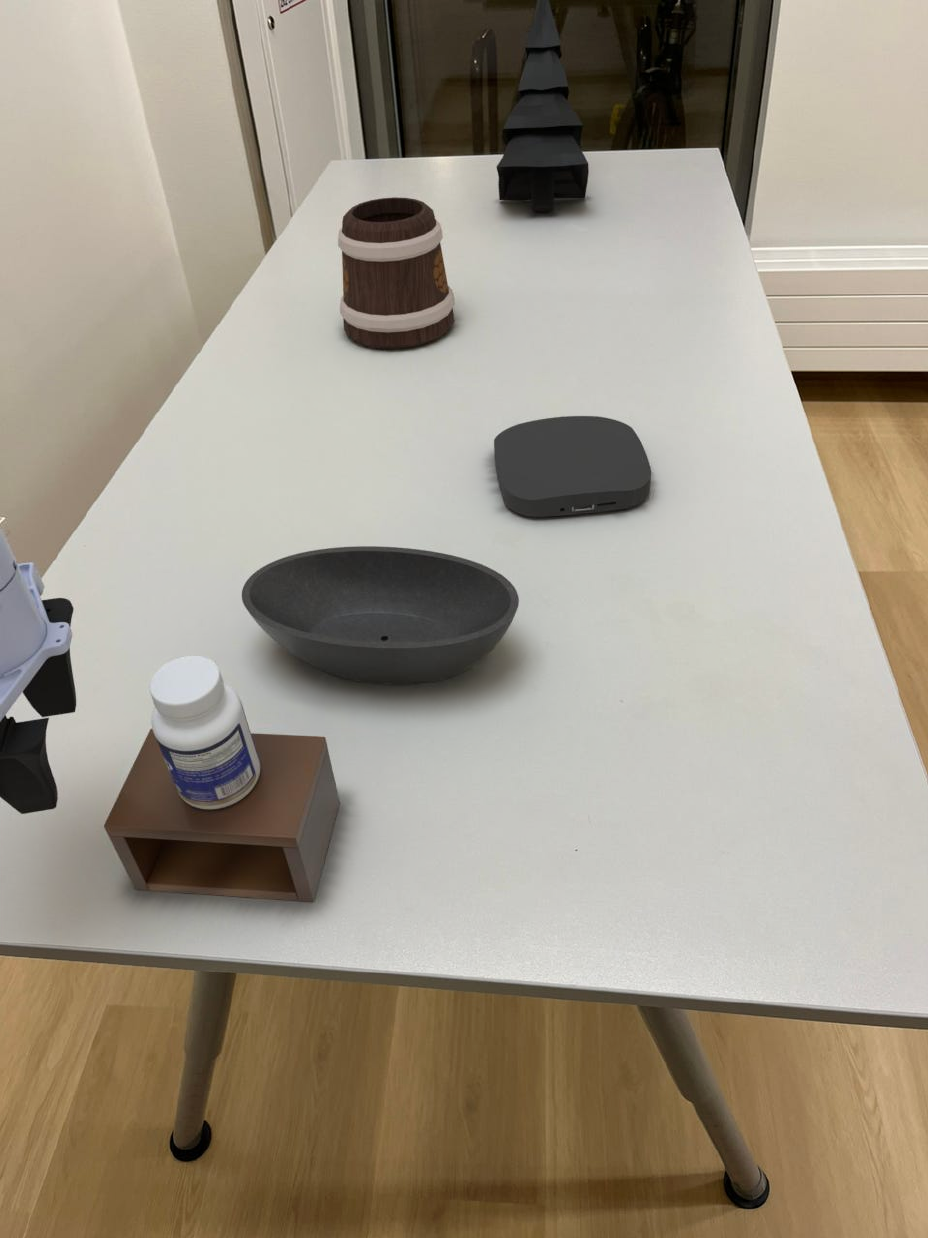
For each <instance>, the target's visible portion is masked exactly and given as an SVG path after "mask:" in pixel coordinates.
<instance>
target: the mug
mask: <svg viewBox="0 0 928 1238" xmlns="http://www.w3.org/2000/svg"><path fill="white" fill-rule="evenodd" d="M341 222H342V224H341V228H340V229H339V230H338V236H337V237H338V238H337V247H338V248H339V249H340V250H341V262H342V264H341V265H342V293H343V295H342V296H341V297H340V303H339V314H340V315H341V317H342V318H343V319H342V320H343V331H344V332H345V333H346V335H347V337H349V338H350V339H351V340H353V341H354V342H357V343H358V344H360V345H362V346H366V347H369V348H372V349H380V350H381V349H382V350H401V349H411V348H414V347H420V346H423V345H426V344H428V343H431V342H434V341H437V340H438V339H439V338H441V337H442V336H443V335H445V334H447V332H448V331H449V330H450V329H451V328H452V326H453V325H454V323H455V316H454V315H455V313H454V306H455V305H456V302H455V295H454V292H453V289H452V288H451V287H450V286H449V284H448V278H447V273H446V267H445V262H444V255H443V250H442V244H441V241H442V240H443V236H444V235H443V230H442V226H441V222H440V221H438V220H437V219H436V215H435V212H434V209H433V208H431V206H429V205H428V204H427V203H425V202H424V201H423V200H422V201H421V200H419V199H416V198H410V197H396V196H395V197H394V196H393V197H382V198H381V197H380V198H376V199H375V198H374V199H370V200H366V201H363V202H360V203H357V204H356V205H354V206H352V207H351V208H350V209H348V211H347V212H346V213H345V214H344V215H343V216H342V221H341Z"/></svg>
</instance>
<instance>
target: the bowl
mask: <svg viewBox="0 0 928 1238" xmlns="http://www.w3.org/2000/svg"><path fill="white" fill-rule="evenodd" d="M519 599H520V597H519V594H518V591H517V589H516V588H515V585H513V584H512V582H511V581H510V580H509V579H508V578H507V577H506V576H504V575H503V574H501V573H499V572H498V571H497V570H494V569H492V568H491V567H488V566H487V565H484V564H482V563H479V562H476V561H475V560H474V561H473V560H471V559H467V558H463V557H460V556H456V555H454V554H453V555H452V554H448V553H442V552H437V551H432V550H425V549H419V548H418V549H417V548H409V547H397V546H396V547H395V546H379V545H377V546H376V545H375V546H374V545H372V546H368V545H366V546H365V545H364V546H363V545H362V546H361V545H360V546H359V545H358V546H339V547H329V548H319V549H313V550H308V551H303V552H298V553H295V554H291V555H288V556H285V557H284V556H283V557H281V558H278V559H276V560H274V561H272V562H269V563H267V564H266V565H264V566H262V567H261V568H259V569H258V570H256V571H255V572H254V573H252V574H251V575H250V576H249V577H248V579H246V581H245V583H244V584H243V586H242V589H241V601H242V603H243V606H244V607H245V609H246V610H247V612H248V614H249V615H250V616H251V617H252V618H253V620H254V621H255V623H257V625H258V626H259V627H260V628H261V629H262V630H263V631H264V632H265V633H266V634H267V635H268V636H269V637H270V638H271V639H272V640H273V641H274V642H276V643H277V644H278V645H279V646H280V647H282V648H283V649H284V650H286V651H287V652H289V653H290V654H291V655H293V656H294V657H296V658H298V659H299V660H301V661H303V662H305V663H306V664H308V665H311V666H312V667H315V668H316V669H319V670H321V671H322V672H325V673H328V674H330V675H332V676H336V677H339V678H343V679H347V680H351V681H356V682H362V683H370V684H378V685H379V684H380V685H418V684H426V683H433V682H438V681H441V680H442V681H443V680H446V679H449V678H452V677H454V676H457V675H458V674H461V673H462V672H464V671H466V670H467V669H468V670H469V669H470V668H471V667H473V666H474V665H476V664H477V663H479V662H480V661H481V660H482V659H484V658H486V656H487V655H488V654H489V653H490V652H491V651H492V650H494V648H495V647H497V645H498V644H499V643H500V642H501V640H502V639H503V638H504V636H505V634H507V632H508V630H509V628H510V627H511V624H512V622H513V621H514V618H515V615H516V613H517V611H518V608H519V604H520V600H519Z"/></svg>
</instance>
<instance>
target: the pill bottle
mask: <svg viewBox="0 0 928 1238" xmlns="http://www.w3.org/2000/svg"><path fill="white" fill-rule="evenodd" d="M148 688H149V694H150V697H151V699H152V703H153V705H154V707H153V710H152V713H151V718H150V719H151V721H150V723H151V729H153V732H154V735H155V738H156V740H157V742H158V745H159V747H160V750H161V752H162V755H163V757H164V760H165V762H166V765H167V767H168V769H169V772H170V774H171V777H172V779H173V782H174V784H175V787H176V789H177V791H178V793H179V795H180V797H181V798H182V799H183V800H184V801H185V802H186V803H188V804H189V805H191V806H193V807H196V808H200V809H219V808H224V807H227V806H230V805H232V804H234V803H236V802H238V801H239V800H241V799H242V798H244V797H245V796H246V795H247V794H248V793H249V792H250V791H251V790H252V789H253V787H254V786H255V784H256V782H257V780H258V778H259V774H260V762H259V758H258V755H257V751H256V748H255V745H254V742H253V739H252V735H251V733H252V732H251V729H250V726H249V723H248V719H247V716H246V713H245V709H244V707H243V703H242V700H241V698H240V696H239V694H238V692H237V691H236V689H234V687H232V686H231V685H230V684H228V683H226V682H225V681H224V680H223V676H222V674H221V671H220V668H219V667H218V665H217V664H216V662H214V661H213V660H212V659H211V658H207V657H205V656H201V655H185V656H181V657H177V658H175V659H172V660H170V661H168V662H166V663H164V664H163V665H162V666H160V667H159V668H158V669H157V670H156V672H154V674H153V675H152V677H151V679H150V681H149V687H148Z"/></svg>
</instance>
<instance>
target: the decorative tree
mask: <svg viewBox="0 0 928 1238" xmlns="http://www.w3.org/2000/svg"><path fill="white" fill-rule="evenodd" d="M561 45H562V44H561V40H560V37H559V32H558V27H557V25H556V22H555V18H554V15H553V11H552V6H551V3H550V0H537V1H536V7H535V11H534V15H533V20H532V23H531V24H530V27H529V29H528V32H527V36H526V40H525V45H524V49H525V57H524V58H525V59H524V68H523V71H522V74H521V78H520V81H519V83H518V88H517V92H516V100H515V101H516V104H515V105H514V108H513V109H512V111H511V112H510V113H509V115H508V117H507V119H506V122H505V123H504V126H503V128H502V134H501V139H502V142H503V143H504V145H505V146H504V150H503V155H502V157H501V159H500V161H499V162H498V164H496V171H497V176H498V181H497V182H498V184H497V185H498V186H497V187H498V200H499V201H514V202H525V201H531V202H530V211H531V212H532V213H535V214H548V213H551V212H553V211H554V208H555V206H554V205H555V203H554V201H555V199H557V200H558V199H586V194H587V187H588V184H589V183H588V181H589V175H590V174H589V173H590V172H589V161H588V160H587V158H586V156H585V154H584V153H583V150H582V146H581V145H582V143H581V142H582V141H581V140H582V132H583V129H584V124H583V122H582V120H581V118H580V117H579V116H578V114H577V113H576V112H575V110H574V109H573V107H572V106H571V104H570V102H569V101H568V98H569V94H570V89H569V84H568V83H569V82H568V78H567V73H566V72H565V68H564V67H563V64H562V62H561V58H562V56H563V53H562V49H561Z"/></svg>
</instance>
